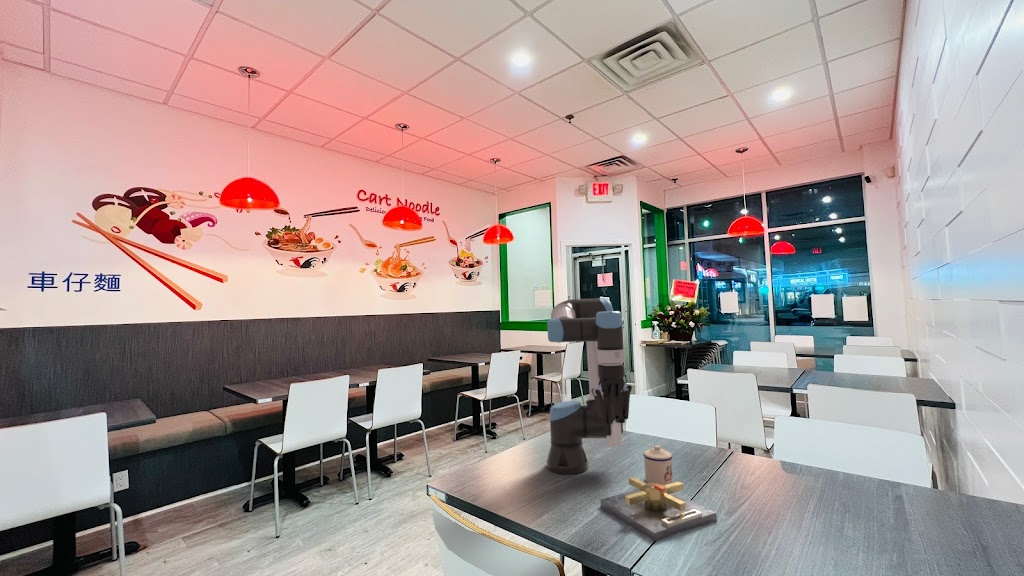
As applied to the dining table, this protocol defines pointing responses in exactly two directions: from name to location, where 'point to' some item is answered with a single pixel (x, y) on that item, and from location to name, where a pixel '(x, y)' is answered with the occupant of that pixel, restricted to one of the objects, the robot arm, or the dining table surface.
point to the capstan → (655, 495)
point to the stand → (658, 516)
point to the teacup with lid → (658, 466)
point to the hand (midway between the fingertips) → (614, 445)
